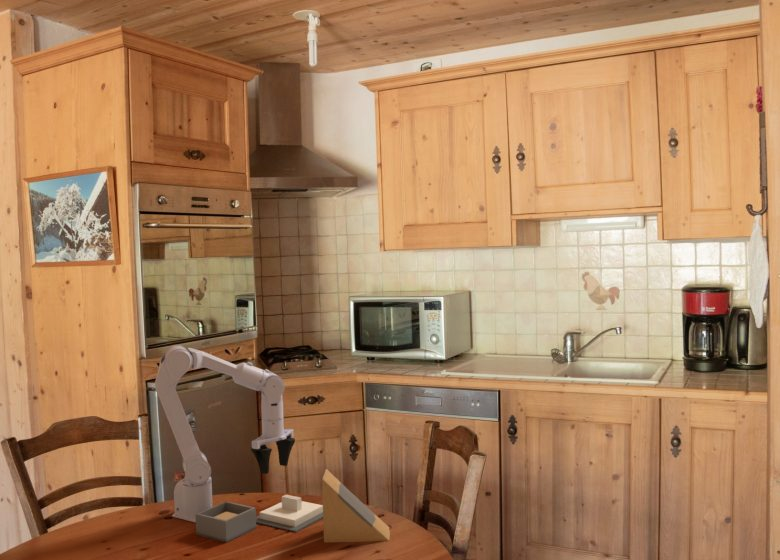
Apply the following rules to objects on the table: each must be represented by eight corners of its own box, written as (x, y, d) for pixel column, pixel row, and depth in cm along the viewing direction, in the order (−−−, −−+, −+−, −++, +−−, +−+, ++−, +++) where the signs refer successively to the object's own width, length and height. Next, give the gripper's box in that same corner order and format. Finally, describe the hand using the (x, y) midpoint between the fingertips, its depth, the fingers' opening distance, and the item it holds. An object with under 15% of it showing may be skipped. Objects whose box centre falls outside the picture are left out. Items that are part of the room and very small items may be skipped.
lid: (259, 518, 177) (259, 500, 176) (289, 504, 186) (288, 487, 186) (294, 526, 170) (294, 508, 170) (323, 511, 180) (323, 493, 180)
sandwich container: (390, 541, 162) (388, 477, 161) (323, 543, 162) (321, 479, 161) (390, 527, 170) (388, 466, 170) (326, 529, 170) (325, 467, 170)
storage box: (196, 534, 168) (195, 514, 168) (226, 520, 177) (225, 501, 177) (226, 542, 163) (225, 521, 163) (256, 528, 171) (255, 507, 171)
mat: (249, 521, 176) (249, 519, 176) (288, 502, 189) (288, 501, 189) (296, 532, 168) (296, 530, 168) (333, 512, 181) (333, 510, 181)
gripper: (265, 426, 179) (267, 479, 179) (301, 414, 191) (303, 464, 192) (245, 423, 182) (246, 475, 183) (281, 412, 195) (283, 460, 195)
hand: (274, 469), depth 188 cm, fingers open, 7 cm apart
